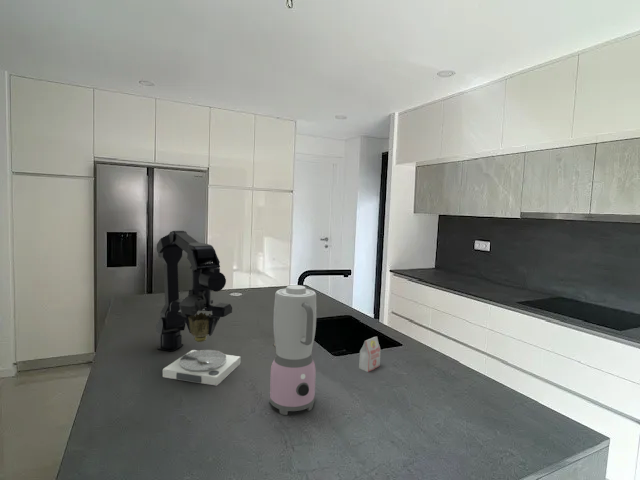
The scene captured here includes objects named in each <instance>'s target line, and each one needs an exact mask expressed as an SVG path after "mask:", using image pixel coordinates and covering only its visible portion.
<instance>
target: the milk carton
mask: <svg viewBox="0 0 640 480" xmlns="http://www.w3.org/2000/svg"><path fill="white" fill-rule="evenodd" d="M381 352H382V351H381V346H380V344H379V339H378V336H373V337H371V338H368V339H366V340H364V342H363V345H362V347H361V348H360V350H359V359H358V360H359V361H358V363H359V364H358V369H359V370H362V371H364V372H366V373H369V372H371V371H374V370H375V369H377V368H379V367H380V365H381Z"/></svg>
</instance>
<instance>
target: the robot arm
mask: <svg viewBox="0 0 640 480" xmlns="http://www.w3.org/2000/svg"><path fill="white" fill-rule="evenodd" d="M156 252H157V257H158V258H159V260H160V262H162V264H163V278H164V279H163V281H164V282H163V285H164V286H163V287H164V305H163V306H162V307H163V308H162V309H161V311H160V314H159V315H160V317H159V319H158V321H157V323H156V325H155V329H156V332H157V333H158V334H159V337H160V341H159V342H160V344H159V345H160V346H158V347H157V350H161V351H167V352H168V351H169V352H175V351H176V350H178V349H179V348H181V347H183V346H184V343H183V342H182V334H181V332H182V331H185V328H187V329H188V331H189V334H191V332H190V327H189V319H188V317H190V315H191V316H192V315H195V314H196V313H197V314H198V312H199V311H200V312H202V311H205V312H210V314H211V315H209V314H208V315H209V316H207V317H208V319H209V334H208V336H210V337H211V336H212V335H213V334H214V331H215V329H216V327H217V324H218V322H219V321H220V319H221V318H225V317H226V316H229V315H230V314H231V313H233V306H232V305H231V303H225V302H219V303H217V304H215V305H214V304H213V303H214V300H213V299H212V292H220V291H221V290H223V289H224V288H225V286H226V284H227V283H226V282H227V278H226V276H225V274H224V273H222V272H221V269H220V268H221V266H220V265H221V264H220V263H221V262H220V259H219V257H218V255H217V252H216V249H215V248H214V246H213V245H211V244H209V243H203V242H199V241H197V240H196V239H194V238H193V237H192V236H191V235H190V234H188V232H187V231H186V230H172V231H170V232H169V233H168V234H166V235H164V236H163V237H161V238H160V239H159V241H158V242H157V243H156ZM183 252H185V253H186V254H187V256H186V259H187V260H188V262H189V263H190V266H189V269H190V270H191V289H189V290H188V295H187V296H186V297H185V298H182V297H181V298H180V291H179V290H180V288H179V287H180V285H179V262H180V261H181V259H182V258H183ZM212 304H213V305H212ZM186 326H187V327H186Z"/></svg>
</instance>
